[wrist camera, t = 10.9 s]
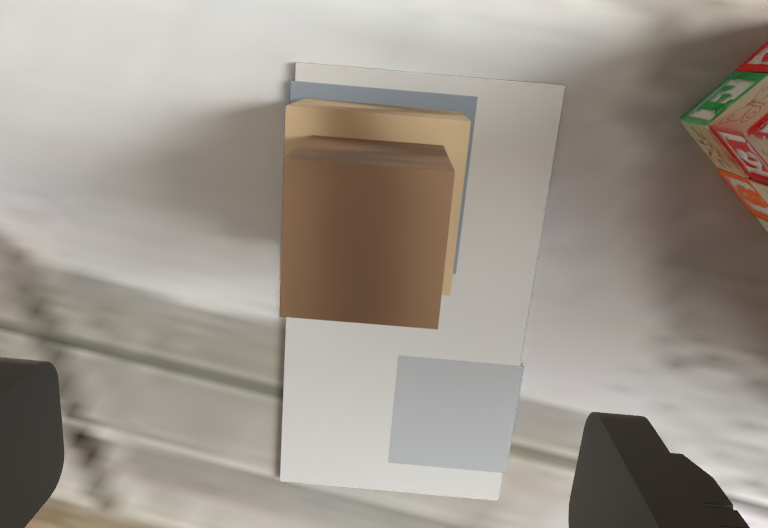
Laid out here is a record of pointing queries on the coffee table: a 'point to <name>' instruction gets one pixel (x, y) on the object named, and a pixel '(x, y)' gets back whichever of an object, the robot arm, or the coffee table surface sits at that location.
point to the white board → (456, 319)
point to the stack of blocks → (738, 131)
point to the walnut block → (365, 231)
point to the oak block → (387, 126)
